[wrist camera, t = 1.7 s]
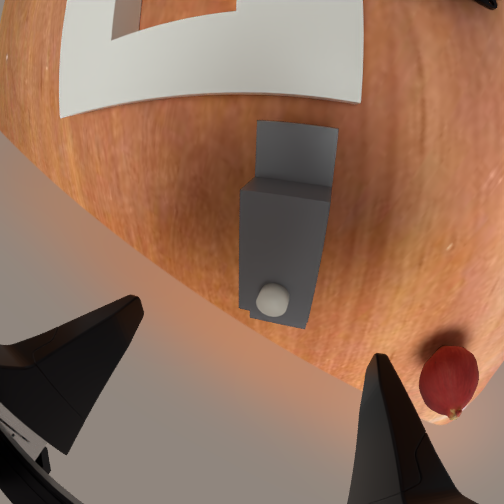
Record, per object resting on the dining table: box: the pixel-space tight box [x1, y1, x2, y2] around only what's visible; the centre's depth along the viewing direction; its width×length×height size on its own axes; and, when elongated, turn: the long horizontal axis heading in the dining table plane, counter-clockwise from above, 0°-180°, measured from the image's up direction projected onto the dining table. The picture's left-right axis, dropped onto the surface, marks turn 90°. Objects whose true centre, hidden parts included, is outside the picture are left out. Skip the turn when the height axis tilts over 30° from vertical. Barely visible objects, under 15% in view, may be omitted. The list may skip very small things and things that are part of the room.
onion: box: [419, 345, 479, 420], centre depth 16 cm, size 6×6×8 cm
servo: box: [239, 120, 338, 329], centre depth 15 cm, size 13×4×7 cm, turn 178°
